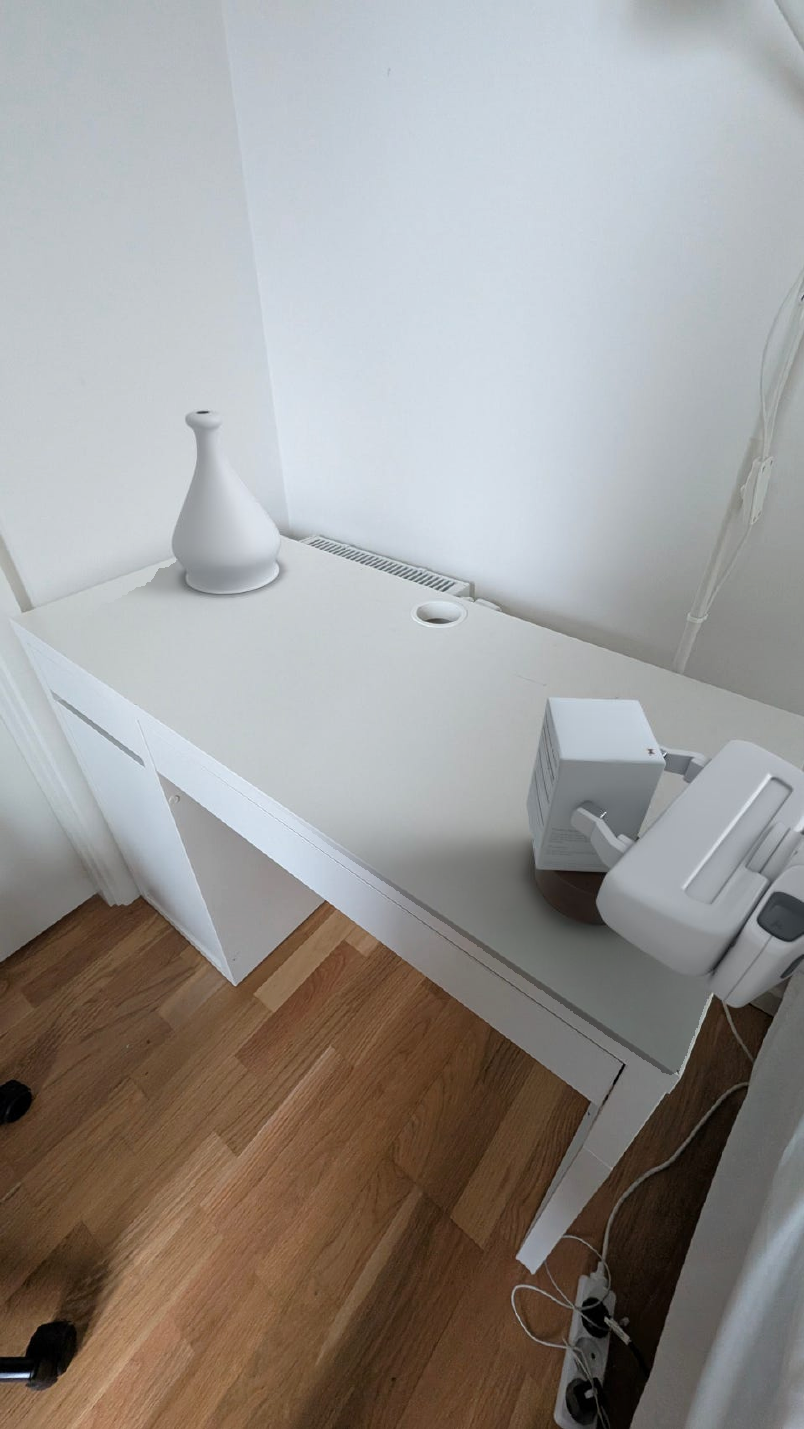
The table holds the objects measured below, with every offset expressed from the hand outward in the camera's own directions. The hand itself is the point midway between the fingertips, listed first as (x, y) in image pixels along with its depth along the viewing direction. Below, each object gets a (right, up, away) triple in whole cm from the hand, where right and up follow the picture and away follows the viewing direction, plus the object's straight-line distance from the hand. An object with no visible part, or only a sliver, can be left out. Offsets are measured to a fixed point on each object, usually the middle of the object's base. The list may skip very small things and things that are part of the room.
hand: (611, 779), depth 44 cm
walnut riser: (0, -10, +7) cm, 12 cm away
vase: (-45, +29, +55) cm, 77 cm away
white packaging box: (-1, -6, +6) cm, 8 cm away
